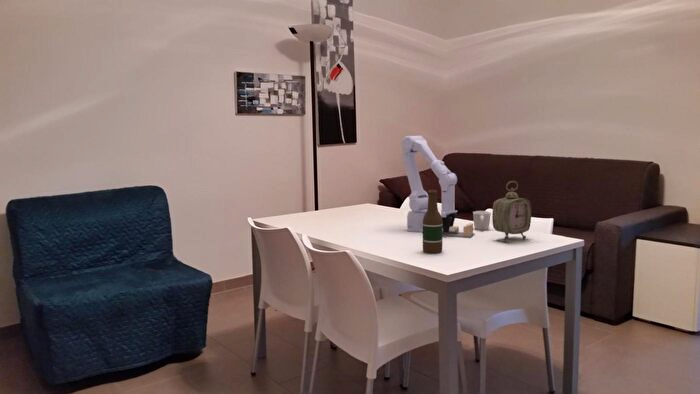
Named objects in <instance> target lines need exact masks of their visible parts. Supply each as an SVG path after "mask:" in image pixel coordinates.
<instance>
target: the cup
mask: <svg viewBox="0 0 700 394" xmlns="http://www.w3.org/2000/svg"><path fill="white" fill-rule="evenodd" d="M472 215H473V217H472V218H473V228H474V229H475V230H478V231H486V230H488V229H489V228H490V223H491V216H492V213H491V212H490V211H488V210H487V211H485V210H476V211H472Z"/></svg>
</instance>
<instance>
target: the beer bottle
mask: <svg viewBox="0 0 700 394" xmlns="http://www.w3.org/2000/svg"><path fill="white" fill-rule="evenodd" d="M427 193H428V209H427V212H426V214H425V215H424V218H423V232H422V252H423V253H425V254H431V255H432V254H433V255H435V254H441V253H442V252H443V236H442V217H441V213H440V212H439V208H438V191H437V189H429V190H428V191H427Z"/></svg>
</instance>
